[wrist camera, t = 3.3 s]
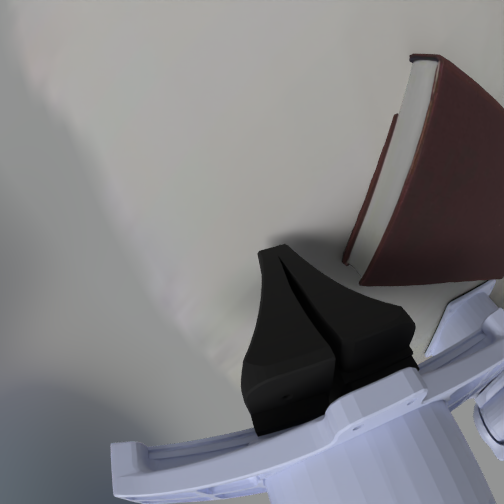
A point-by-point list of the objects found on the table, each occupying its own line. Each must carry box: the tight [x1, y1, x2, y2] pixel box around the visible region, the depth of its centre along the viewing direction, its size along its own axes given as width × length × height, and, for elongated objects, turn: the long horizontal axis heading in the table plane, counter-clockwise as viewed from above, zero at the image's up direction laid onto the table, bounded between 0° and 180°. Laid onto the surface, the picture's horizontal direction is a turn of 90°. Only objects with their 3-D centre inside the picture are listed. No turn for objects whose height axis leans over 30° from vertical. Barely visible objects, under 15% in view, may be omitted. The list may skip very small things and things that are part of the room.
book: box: [342, 54, 504, 286], centre depth 16 cm, size 12×19×3 cm, turn 78°
